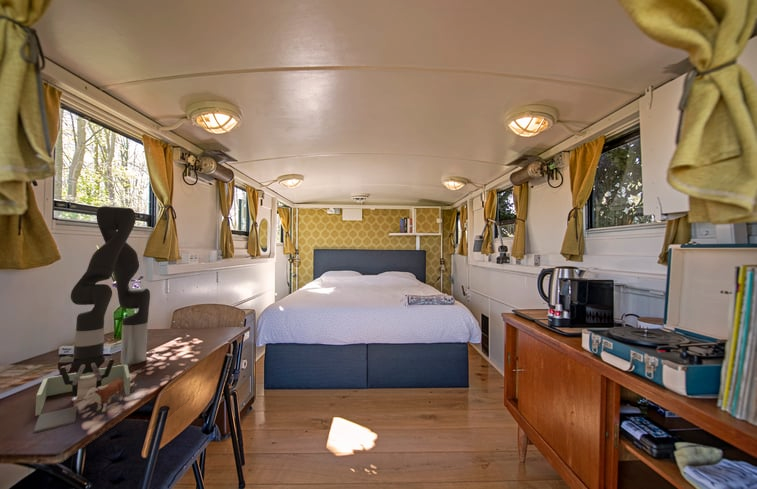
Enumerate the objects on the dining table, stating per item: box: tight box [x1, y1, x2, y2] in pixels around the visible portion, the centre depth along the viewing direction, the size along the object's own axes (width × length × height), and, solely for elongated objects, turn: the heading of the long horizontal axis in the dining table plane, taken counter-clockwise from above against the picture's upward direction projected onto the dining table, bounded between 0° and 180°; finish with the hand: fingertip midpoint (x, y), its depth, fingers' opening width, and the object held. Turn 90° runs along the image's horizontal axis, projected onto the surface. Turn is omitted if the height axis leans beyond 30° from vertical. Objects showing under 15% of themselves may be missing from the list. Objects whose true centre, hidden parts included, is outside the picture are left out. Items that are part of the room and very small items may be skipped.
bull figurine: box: [83, 378, 124, 413], centre depth 98 cm, size 4×13×8 cm, turn 4°
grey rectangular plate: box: [33, 405, 78, 434], centre depth 90 cm, size 12×8×1 cm, turn 42°
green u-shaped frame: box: [34, 364, 131, 417], centre depth 106 cm, size 18×22×6 cm
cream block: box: [76, 374, 97, 401], centre depth 106 cm, size 5×5×6 cm
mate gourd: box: [57, 353, 77, 375], centre depth 124 cm, size 8×8×15 cm
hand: (86, 392), depth 105 cm, fingers closed on cream block, 4 cm apart
